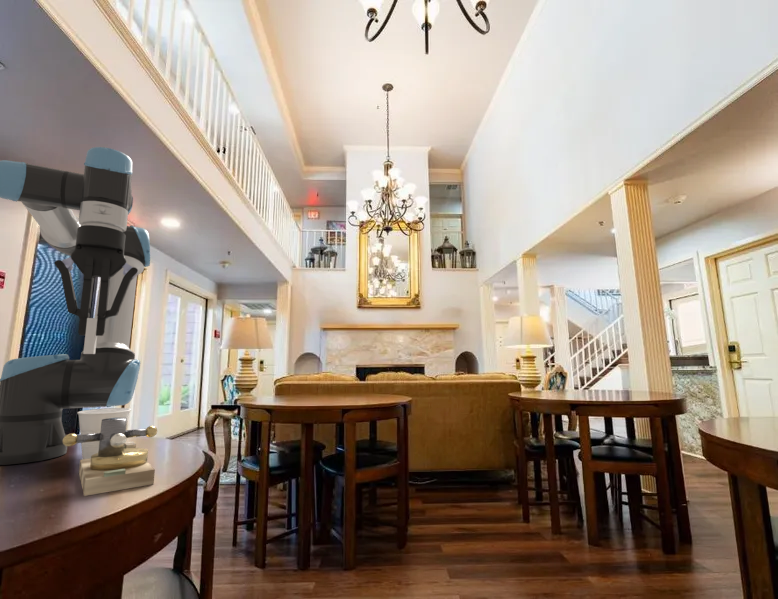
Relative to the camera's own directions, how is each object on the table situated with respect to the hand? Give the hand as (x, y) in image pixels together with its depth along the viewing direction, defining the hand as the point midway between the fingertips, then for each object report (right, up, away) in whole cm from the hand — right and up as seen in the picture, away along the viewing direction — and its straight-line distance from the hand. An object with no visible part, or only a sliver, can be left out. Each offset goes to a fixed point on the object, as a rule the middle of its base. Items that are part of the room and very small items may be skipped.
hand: (89, 353), depth 74 cm
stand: (+3, -24, +2) cm, 24 cm away
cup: (-8, -26, +14) cm, 31 cm away
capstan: (+3, -21, +1) cm, 21 cm away
